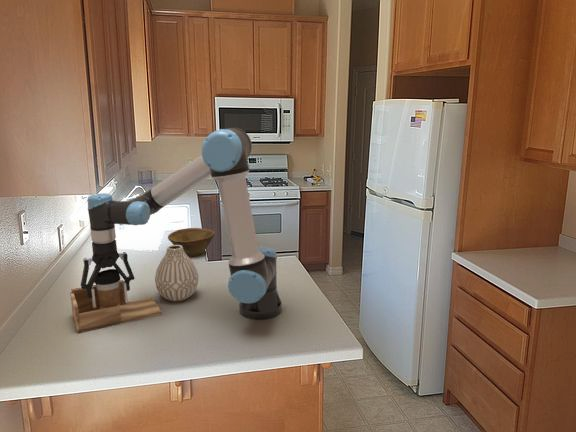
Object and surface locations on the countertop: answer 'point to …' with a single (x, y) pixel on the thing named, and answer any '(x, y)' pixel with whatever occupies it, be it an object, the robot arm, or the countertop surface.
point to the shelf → (108, 310)
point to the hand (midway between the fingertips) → (110, 302)
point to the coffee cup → (108, 288)
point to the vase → (176, 275)
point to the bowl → (192, 240)
